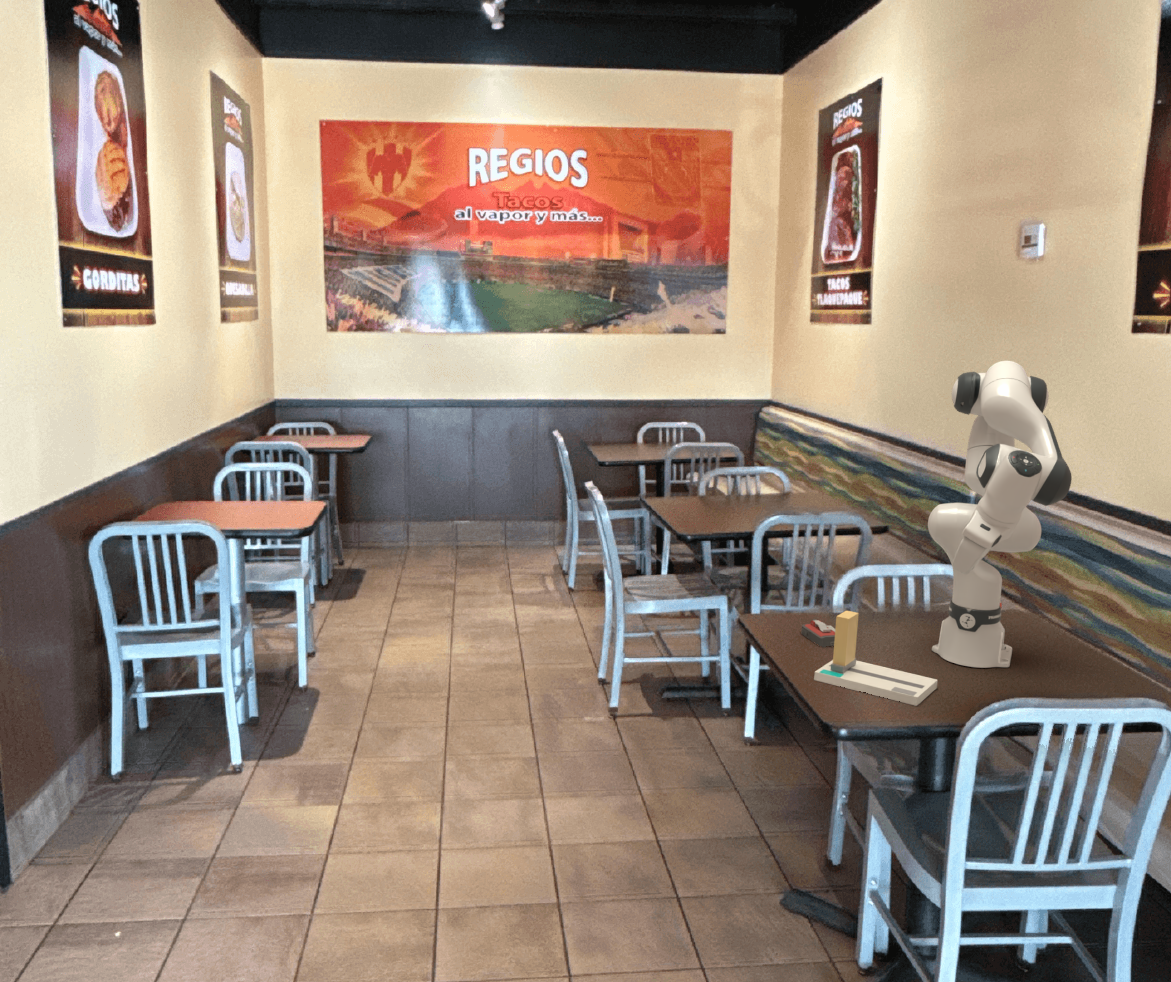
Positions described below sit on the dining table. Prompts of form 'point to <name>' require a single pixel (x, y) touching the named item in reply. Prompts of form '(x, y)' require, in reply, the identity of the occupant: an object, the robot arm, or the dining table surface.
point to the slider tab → (845, 641)
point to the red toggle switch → (819, 633)
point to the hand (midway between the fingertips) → (967, 569)
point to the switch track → (880, 682)
